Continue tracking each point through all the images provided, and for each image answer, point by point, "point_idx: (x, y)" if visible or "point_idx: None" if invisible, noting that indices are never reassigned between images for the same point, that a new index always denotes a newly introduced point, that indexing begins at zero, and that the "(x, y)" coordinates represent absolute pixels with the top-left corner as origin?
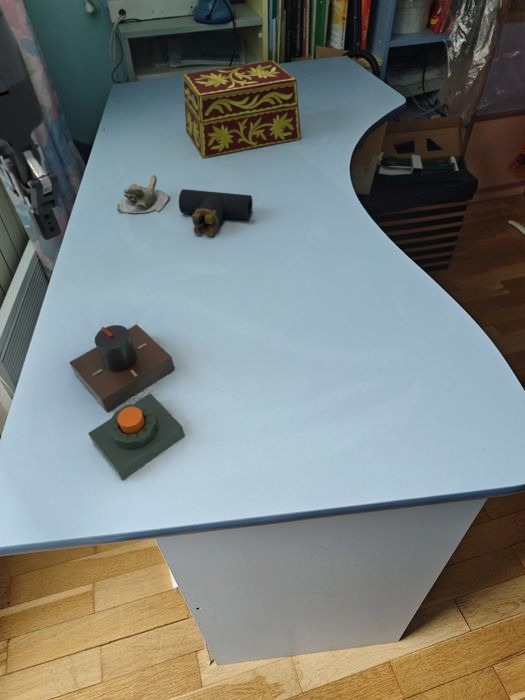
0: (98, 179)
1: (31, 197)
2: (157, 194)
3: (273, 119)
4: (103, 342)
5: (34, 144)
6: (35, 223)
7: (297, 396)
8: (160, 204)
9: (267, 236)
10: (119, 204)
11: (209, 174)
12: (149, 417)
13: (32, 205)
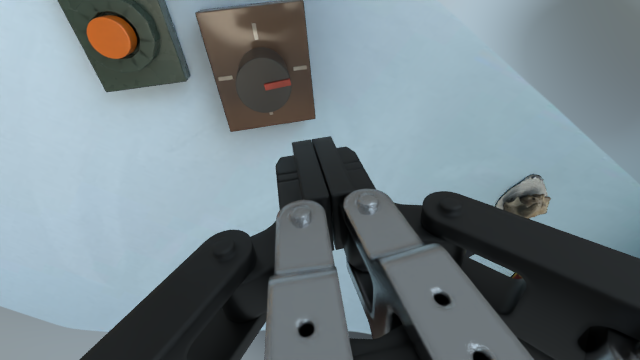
0: (607, 177)
1: (177, 330)
2: None
3: None
4: (259, 70)
5: None
6: (322, 162)
7: (129, 207)
8: None
9: None
10: (542, 180)
11: (491, 265)
12: (116, 62)
13: (234, 260)
